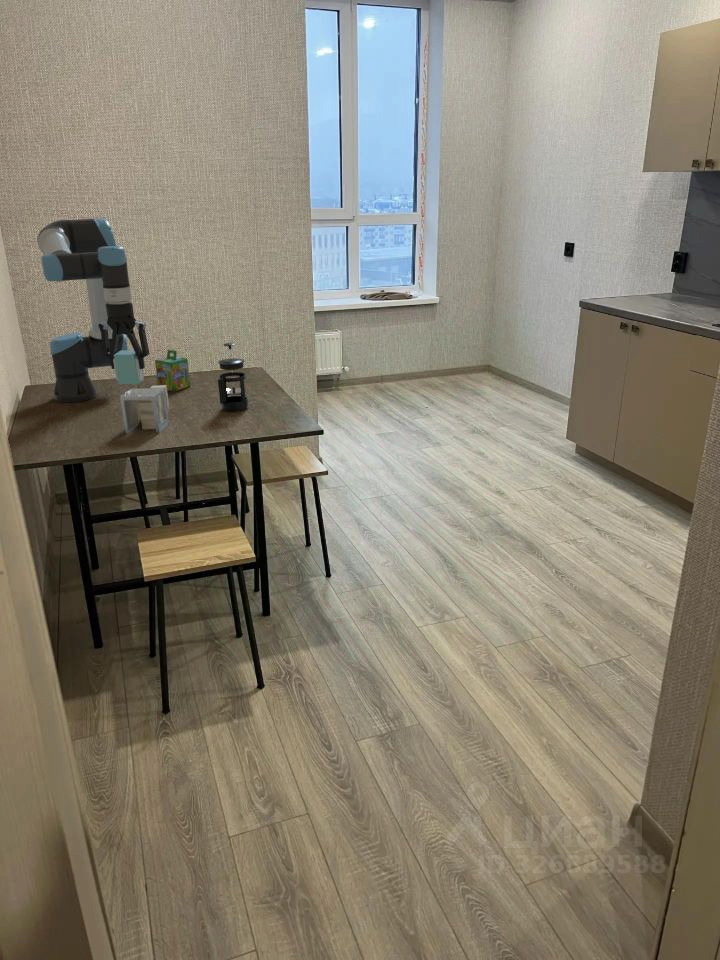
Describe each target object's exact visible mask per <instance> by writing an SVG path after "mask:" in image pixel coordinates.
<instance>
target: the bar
mask: <svg viewBox="0 0 720 960" xmlns="http://www.w3.org/2000/svg"><path fill="white" fill-rule="evenodd" d="M150 388H164V391H165V399H166V407H167V414H168V413H169V411H170V403H169V395H168V390H167V385H151V386H150ZM156 403H157V411H158V419H159V423H160V422H161V421H162V420H163V419H164V415H163V407H162V399H161V395H160V396H159V397H157V398H156ZM138 405H139V407H138V408H139V413H140V421H141V427H142V430H156V427H155V420H154V413H153V405H152V400H139V402H138Z"/></svg>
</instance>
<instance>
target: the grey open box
mask: <svg viewBox="0 0 720 960" xmlns="http://www.w3.org/2000/svg"><path fill="white" fill-rule="evenodd" d="M160 395H161V399H162V407H163V415H164V419H163V420H162V421H161V422H160V423H159V419H158V411H157V403H156V398H157V397H159V396H160ZM119 400H120V407H121V411H122V413H121V414H122V419H123V427H124V433H125V434H130V432H131V431H133V430H134V429H135V428H136V427H137V426H138V425H139V424H140V421H139V414H138V406H137V400H138V401H141V400H152V405H153V413H154V420H155V427H156V429H155V434H160V433H161V432H162V431H163V430H164V429H165V428H166V427H167V426H168V425H169V416H168V413H167V407H166V399H165V391H164V388H151V387H150V388H148V387H147V388H130V389H129V390H127V391H126V392H124V393H123V394H122V395H120V397H119Z"/></svg>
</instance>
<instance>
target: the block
mask: <svg viewBox="0 0 720 960" xmlns="http://www.w3.org/2000/svg"><path fill="white" fill-rule="evenodd" d="M136 358H137V356H136V353H135V351H134V349H133V350H132V349H131V350H121V351H119V352H118V353H116V354H114V360H115V366H116V373H117V379H118V381H117V385H139V384H140V383H141V382H142V381H144V380H145V376H144V375H145V374H144V369H142V371H143V379H142V380H141V381H138V376H137V369H136V362H135V359H136Z"/></svg>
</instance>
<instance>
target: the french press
mask: <svg viewBox="0 0 720 960" xmlns="http://www.w3.org/2000/svg"><path fill="white" fill-rule="evenodd" d="M236 345H237V344H236V343H234V342H227V343H224V344H223V346H224V347H228V350H229V355H230V356H229V357H230V358H225V359H224V358H223V359H221V360H218V362H217V364H219V369H220V370H224V371H230V372H224V373H221V374H220V375H219V378H218V379H217V385H218V396H219V404H220V405H221V410H222V411H223V410H224V412H226V411H227V412H228V413H239V412H238V411H240V412H244V411H246V410H248V409H249V408H250V406H249V401H248V400H249V399H248V397H247V396H246V391H247V390H246V388H245V379H247V378H246V377H247V375H246V373H245V372H243V371H242V372H241V371H240V372H239V371H235V370H241V369H243V368H244V364H245V359H242V358H233V357H232V347H233V346H236ZM234 376H235V377H234ZM234 382H236V383H237V382H239V387H235V383H234ZM227 383H232V387H229V388H228V387H227Z"/></svg>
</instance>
